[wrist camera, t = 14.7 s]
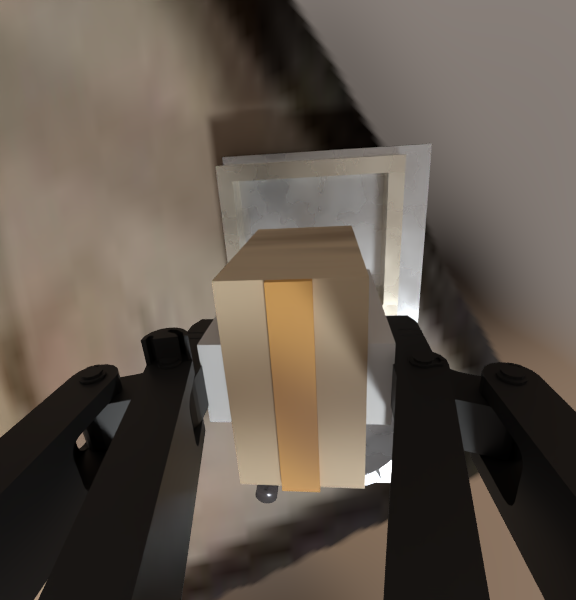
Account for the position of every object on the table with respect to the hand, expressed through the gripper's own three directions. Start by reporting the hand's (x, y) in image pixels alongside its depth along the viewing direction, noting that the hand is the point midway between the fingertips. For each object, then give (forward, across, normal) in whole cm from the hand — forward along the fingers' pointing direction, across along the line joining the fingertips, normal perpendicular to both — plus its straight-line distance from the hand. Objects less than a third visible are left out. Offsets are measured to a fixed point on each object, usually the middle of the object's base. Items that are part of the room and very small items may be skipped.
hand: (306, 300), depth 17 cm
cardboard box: (0, 0, 0) cm, 1 cm away
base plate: (+13, +1, -9) cm, 15 cm away
